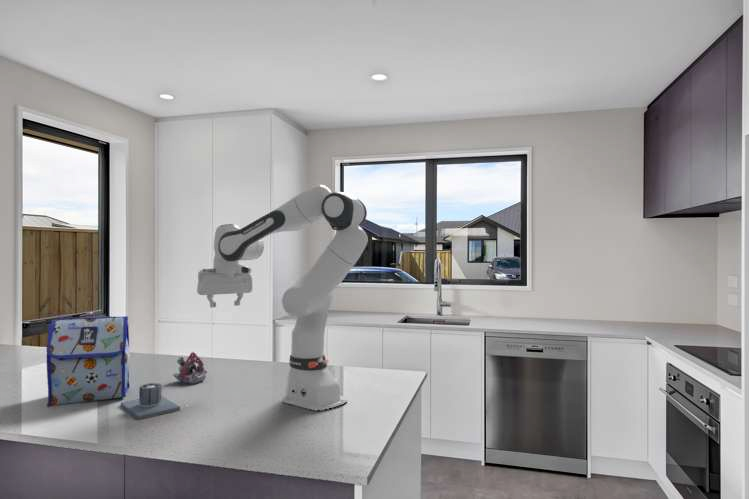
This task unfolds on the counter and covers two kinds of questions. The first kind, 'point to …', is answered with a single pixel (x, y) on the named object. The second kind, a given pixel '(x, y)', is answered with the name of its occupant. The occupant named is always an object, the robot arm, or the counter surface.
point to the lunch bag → (87, 359)
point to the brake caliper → (191, 370)
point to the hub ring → (150, 394)
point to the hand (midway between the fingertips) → (225, 306)
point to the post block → (149, 407)
